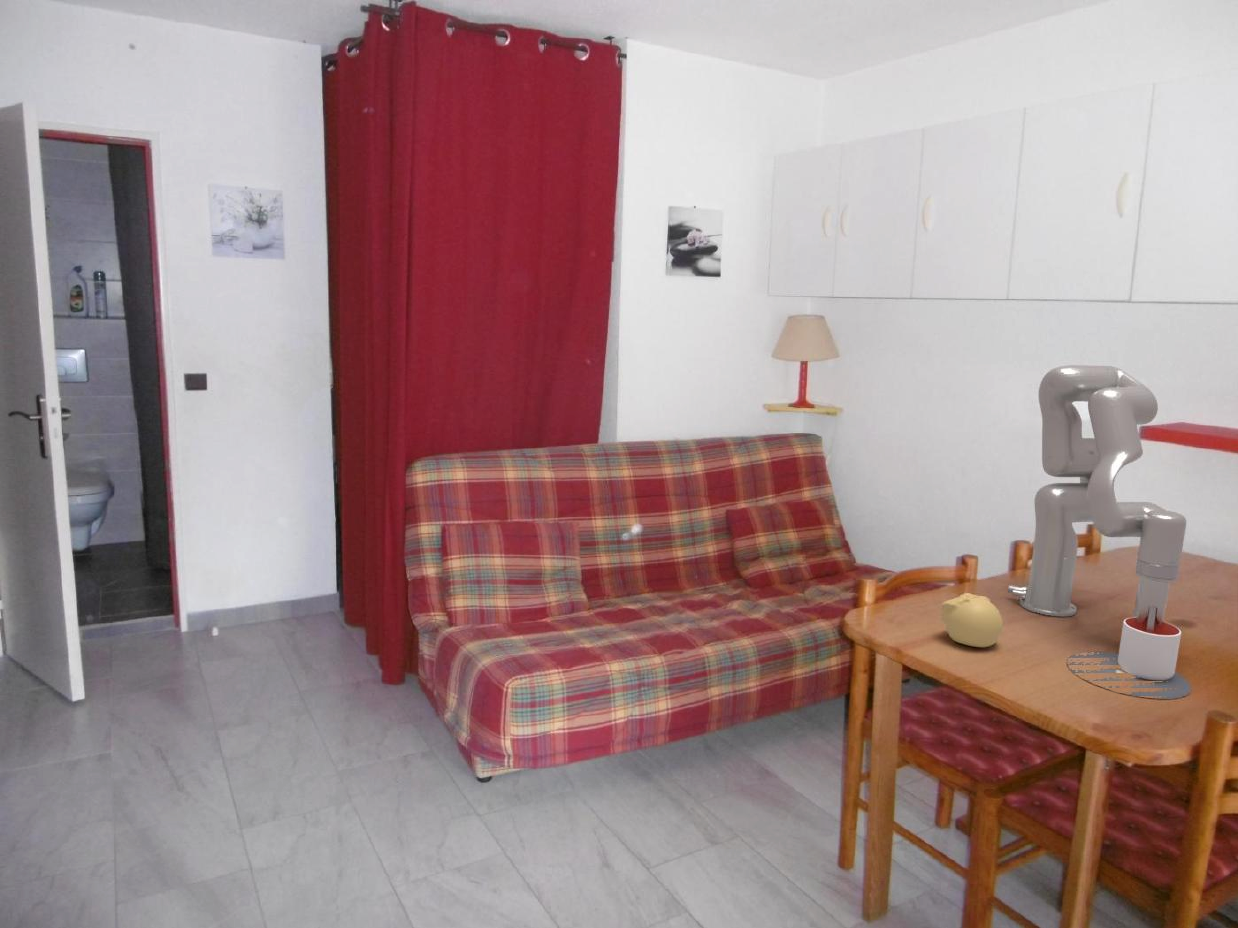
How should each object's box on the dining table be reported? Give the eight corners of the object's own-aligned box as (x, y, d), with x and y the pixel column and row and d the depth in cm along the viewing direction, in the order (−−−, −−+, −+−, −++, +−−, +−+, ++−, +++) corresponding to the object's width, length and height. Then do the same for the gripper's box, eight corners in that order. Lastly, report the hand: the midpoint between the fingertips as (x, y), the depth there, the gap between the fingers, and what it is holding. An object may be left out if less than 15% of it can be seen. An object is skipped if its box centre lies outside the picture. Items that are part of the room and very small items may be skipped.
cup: (1119, 657, 180) (1126, 613, 178) (1175, 670, 174) (1183, 624, 172) (1113, 673, 172) (1120, 627, 170) (1171, 687, 166) (1179, 640, 164)
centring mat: (1063, 680, 168) (1063, 680, 168) (1069, 644, 187) (1069, 643, 187) (1195, 710, 157) (1195, 709, 157) (1187, 668, 176) (1188, 667, 176)
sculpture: (970, 628, 195) (975, 584, 193) (1011, 649, 184) (1016, 602, 182) (930, 634, 191) (935, 589, 188) (970, 655, 180) (975, 607, 178)
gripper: (1135, 557, 185) (1123, 636, 188) (1137, 575, 172) (1124, 660, 175) (1176, 563, 181) (1163, 644, 184) (1180, 582, 168) (1167, 668, 172)
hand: (1144, 651), depth 180 cm, fingers closed
